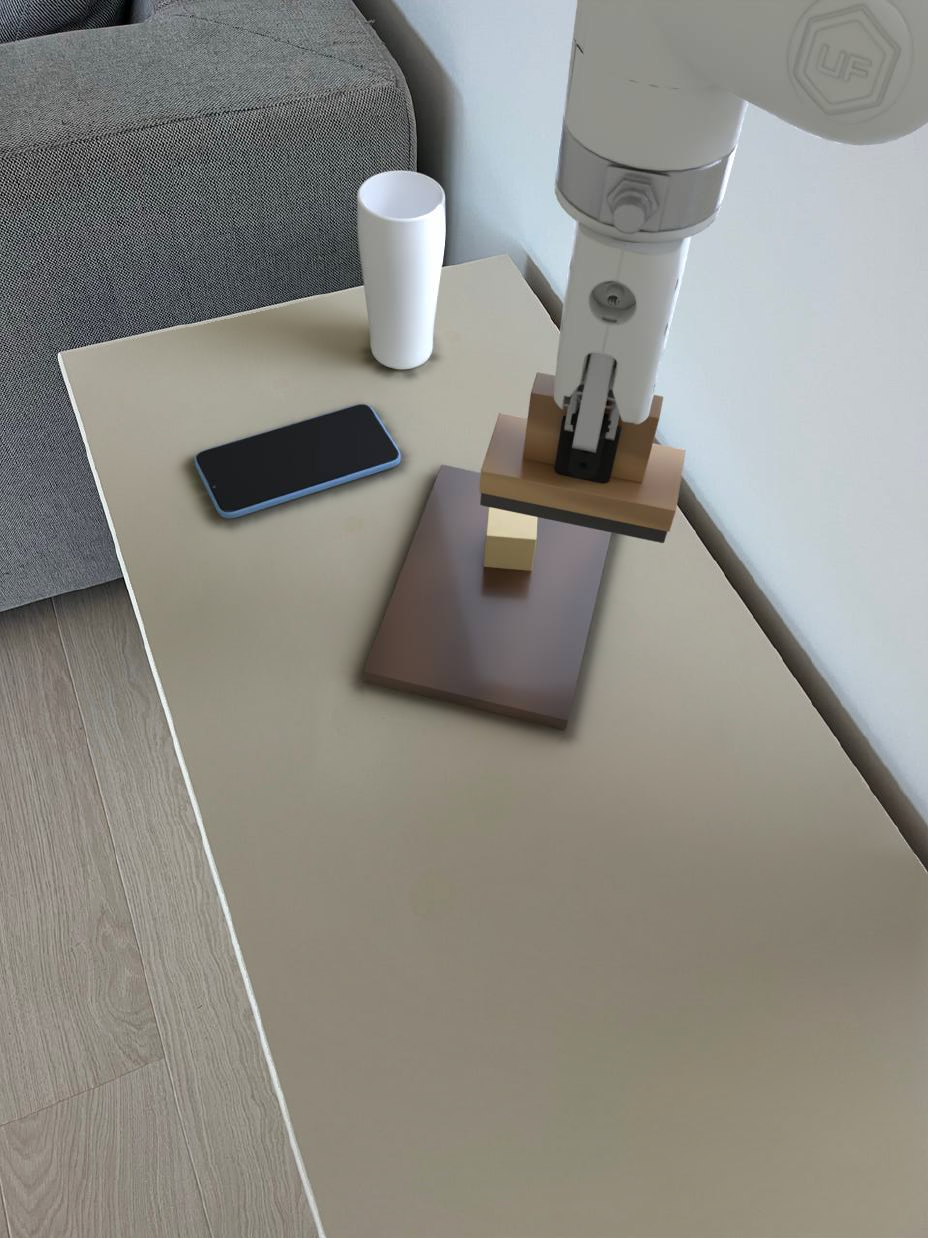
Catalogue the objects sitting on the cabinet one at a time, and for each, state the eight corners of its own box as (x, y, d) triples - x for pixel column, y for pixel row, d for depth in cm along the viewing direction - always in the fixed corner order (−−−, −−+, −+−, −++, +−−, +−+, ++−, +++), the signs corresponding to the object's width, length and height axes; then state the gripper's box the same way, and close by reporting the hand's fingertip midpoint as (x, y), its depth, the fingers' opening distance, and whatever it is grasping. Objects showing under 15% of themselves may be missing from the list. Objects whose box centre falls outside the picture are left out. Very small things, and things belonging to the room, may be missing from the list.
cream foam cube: (533, 534, 80) (538, 502, 77) (531, 571, 78) (536, 539, 75) (486, 530, 80) (489, 498, 77) (483, 567, 78) (486, 535, 75)
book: (616, 513, 83) (619, 502, 82) (566, 730, 71) (568, 721, 70) (440, 474, 84) (441, 464, 83) (363, 681, 73) (363, 671, 72)
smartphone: (405, 457, 84) (221, 517, 80) (405, 465, 85) (222, 524, 80) (367, 397, 88) (189, 451, 83) (367, 405, 89) (191, 458, 84)
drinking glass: (425, 319, 95) (428, 162, 83) (452, 368, 92) (459, 211, 80) (352, 335, 94) (344, 176, 82) (376, 385, 90) (372, 227, 78)
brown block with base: (495, 448, 67) (505, 345, 60) (675, 484, 65) (705, 384, 59) (477, 506, 64) (486, 405, 57) (665, 545, 63) (695, 446, 56)
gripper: (710, 287, 42) (630, 577, 57) (743, 87, 51) (666, 382, 66) (523, 253, 43) (492, 548, 58) (588, 62, 52) (547, 359, 67)
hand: (586, 458), depth 62 cm, fingers closed on brown block with base
